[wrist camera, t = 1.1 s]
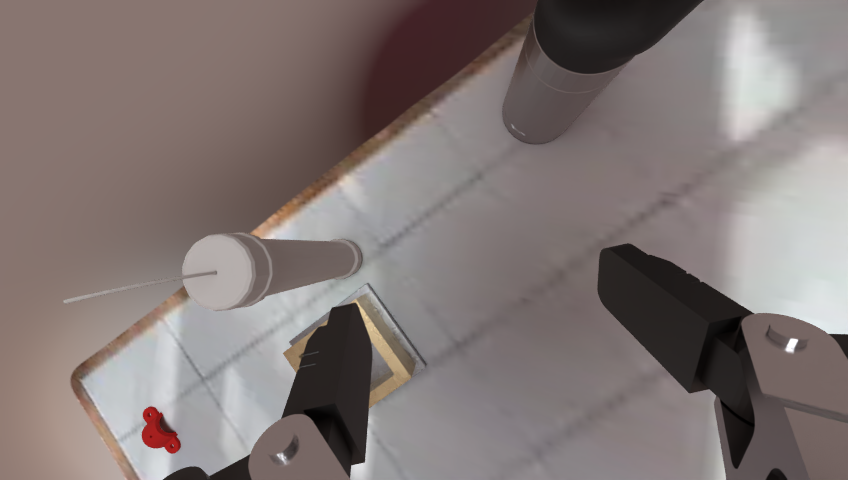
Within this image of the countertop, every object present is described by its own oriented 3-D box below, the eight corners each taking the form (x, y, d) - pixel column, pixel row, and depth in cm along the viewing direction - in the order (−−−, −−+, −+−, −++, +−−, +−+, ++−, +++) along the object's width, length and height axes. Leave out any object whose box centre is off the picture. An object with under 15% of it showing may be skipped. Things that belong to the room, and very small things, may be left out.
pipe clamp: (143, 412, 48) (128, 420, 46) (155, 401, 48) (141, 408, 46) (173, 454, 47) (160, 464, 45) (186, 443, 47) (173, 452, 45)
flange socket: (368, 283, 44) (357, 287, 39) (426, 364, 43) (422, 380, 38) (292, 339, 45) (272, 351, 40) (348, 420, 44) (334, 442, 39)
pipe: (368, 271, 44) (188, 323, 15) (327, 283, 45) (74, 357, 15) (357, 234, 45) (160, 210, 15) (317, 246, 45) (48, 248, 15)
